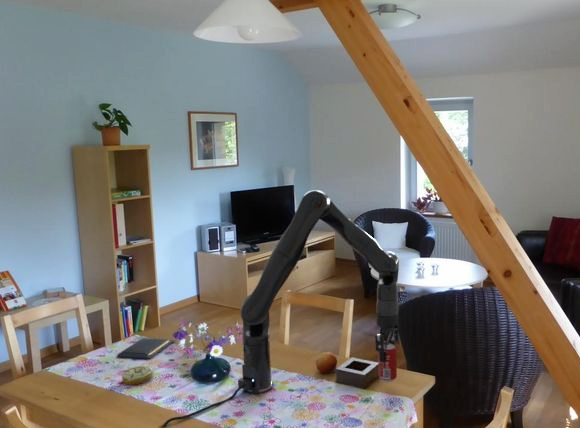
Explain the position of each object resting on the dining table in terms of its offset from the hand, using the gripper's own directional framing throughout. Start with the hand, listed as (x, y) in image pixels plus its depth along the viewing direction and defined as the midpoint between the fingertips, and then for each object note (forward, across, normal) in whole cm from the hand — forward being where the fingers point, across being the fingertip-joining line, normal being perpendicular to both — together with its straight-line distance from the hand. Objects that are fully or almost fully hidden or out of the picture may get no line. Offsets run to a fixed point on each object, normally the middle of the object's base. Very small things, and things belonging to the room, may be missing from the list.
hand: (387, 358), depth 195 cm
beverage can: (+8, 0, 0) cm, 8 cm away
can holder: (+11, -2, -13) cm, 17 cm away
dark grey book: (+12, +13, -106) cm, 107 cm away
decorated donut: (+12, +35, -85) cm, 92 cm away
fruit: (+12, -3, -27) cm, 29 cm away
